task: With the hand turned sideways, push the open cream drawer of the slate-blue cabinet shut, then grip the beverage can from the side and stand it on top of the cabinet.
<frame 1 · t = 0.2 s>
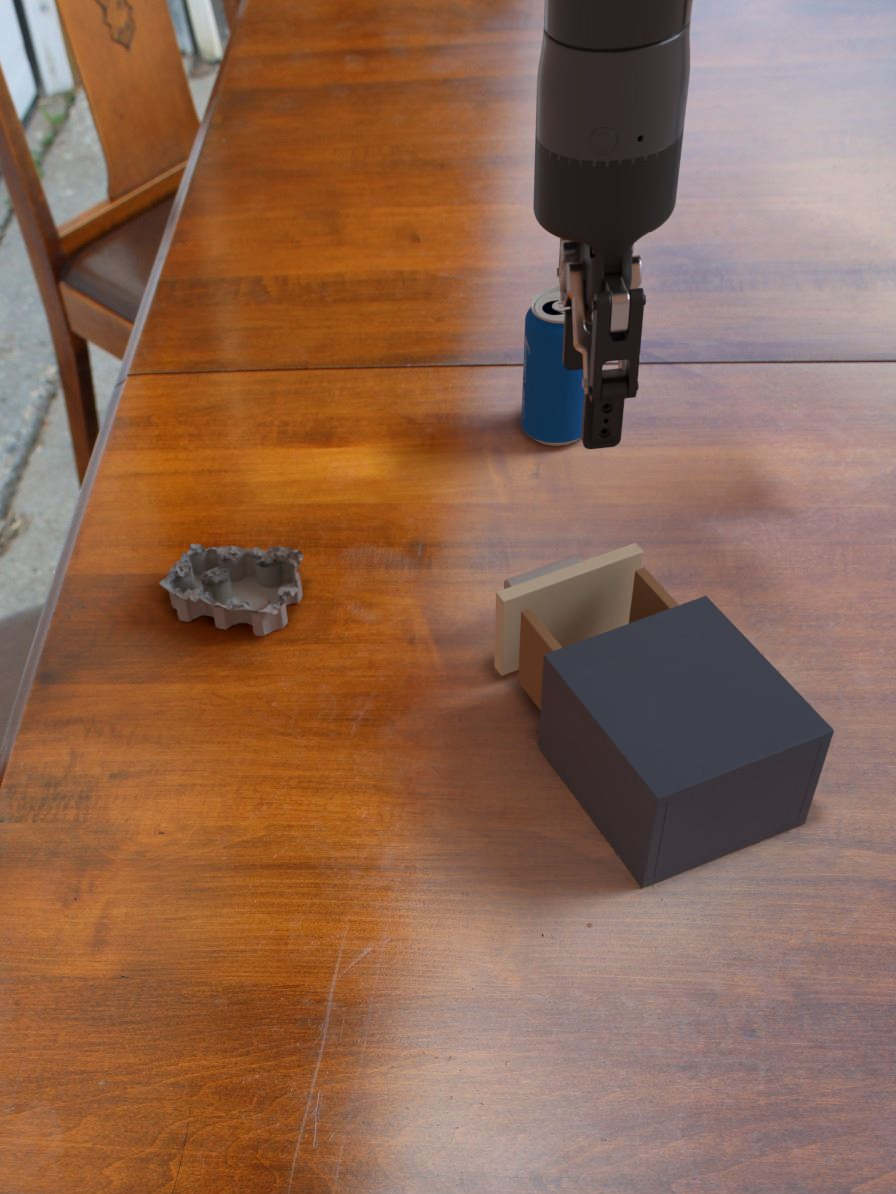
hand: (590, 404, 81), 24 cm above the table, tool pointing down, fingers open, 8 cm apart
drawer: (595, 644, 97), point 5 cm above the table, slide at 7.0 cm
egg carton: (237, 605, 110), on the table
beverage can: (556, 431, 120), on the table
cabinet: (666, 784, 94), on the table
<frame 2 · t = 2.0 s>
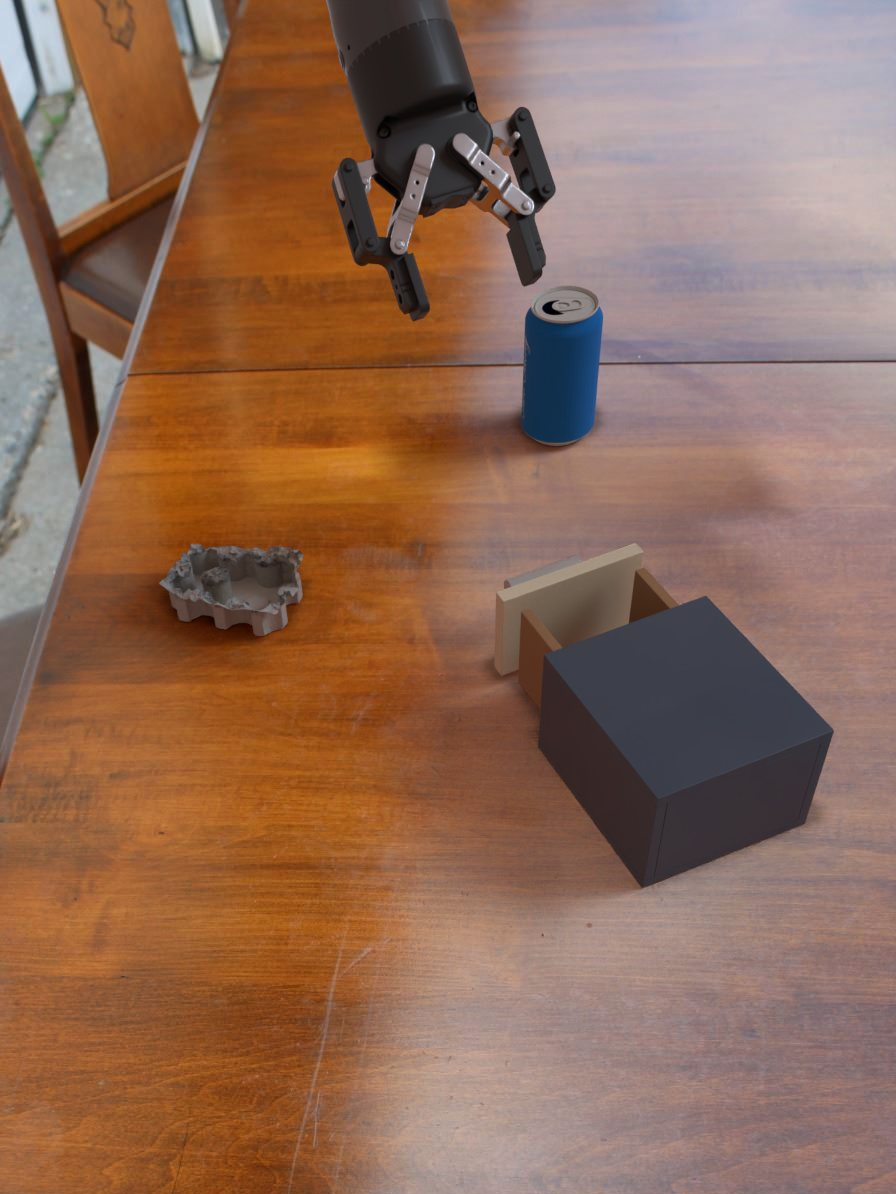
hand: (478, 298, 89), 25 cm above the table, tool tilted 45°, fingers open, 8 cm apart
nothing on the table moved.
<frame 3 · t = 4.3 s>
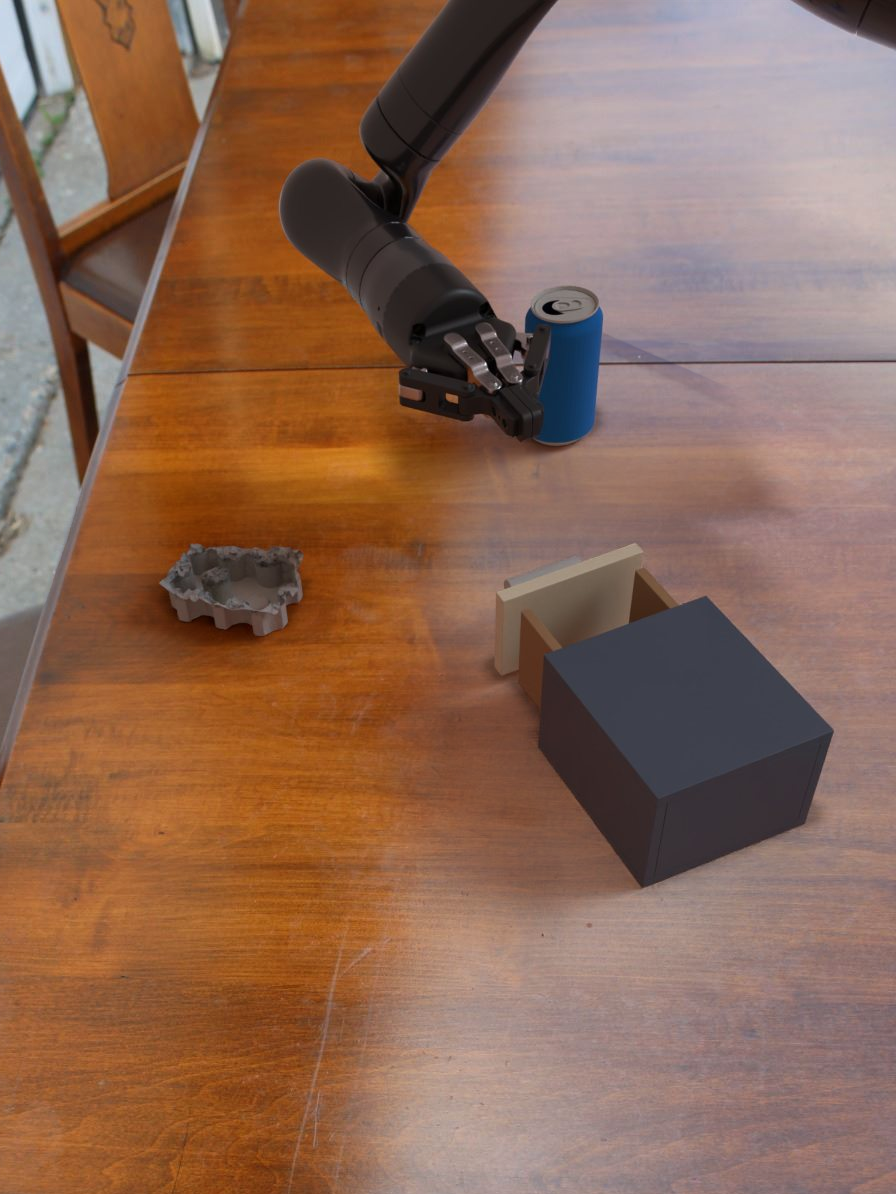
hand: (532, 427, 93), 17 cm above the table, tool horizontal, fingers closed
nothing on the table moved.
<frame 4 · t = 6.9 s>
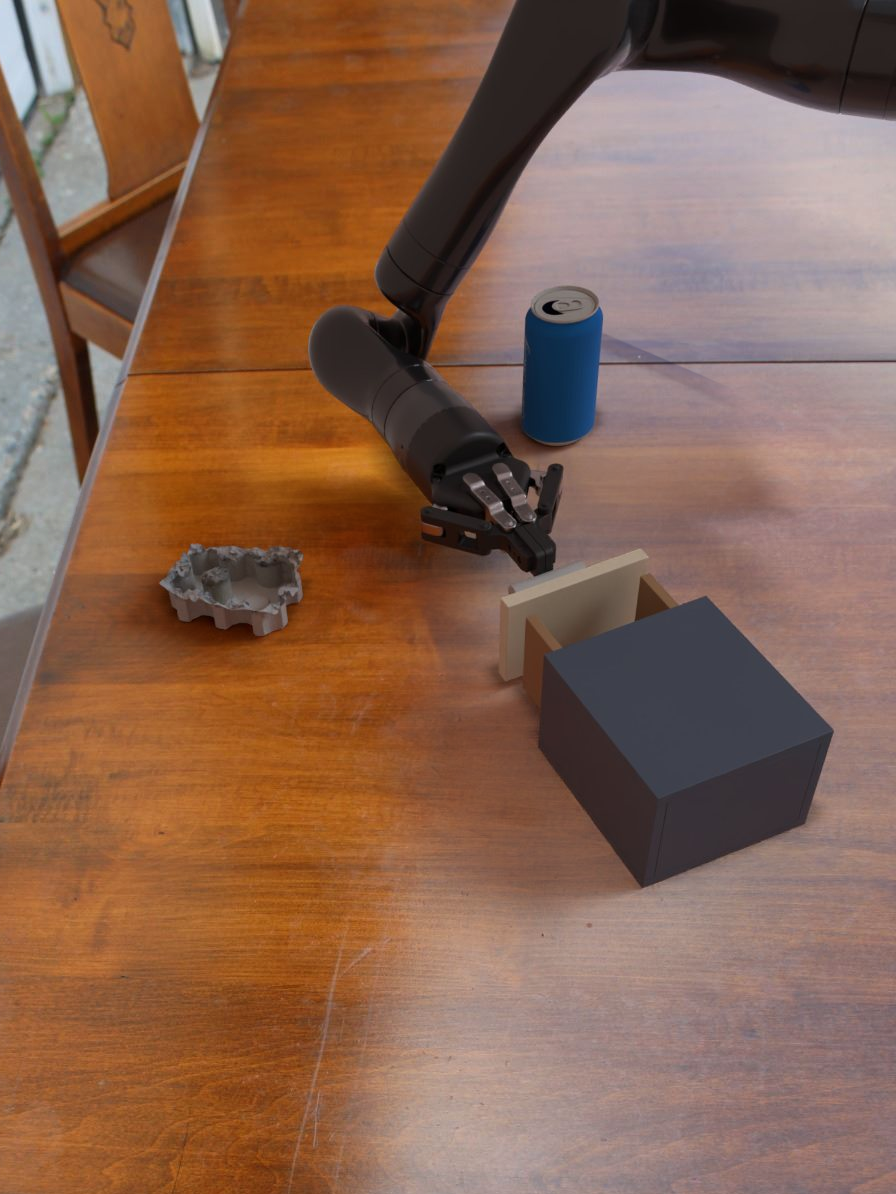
hand: (545, 564, 100), 6 cm above the table, tool horizontal, fingers closed
drawer: (600, 650, 96), point 5 cm above the table, slide at 6.3 cm, touching gripper
everything else where it was.
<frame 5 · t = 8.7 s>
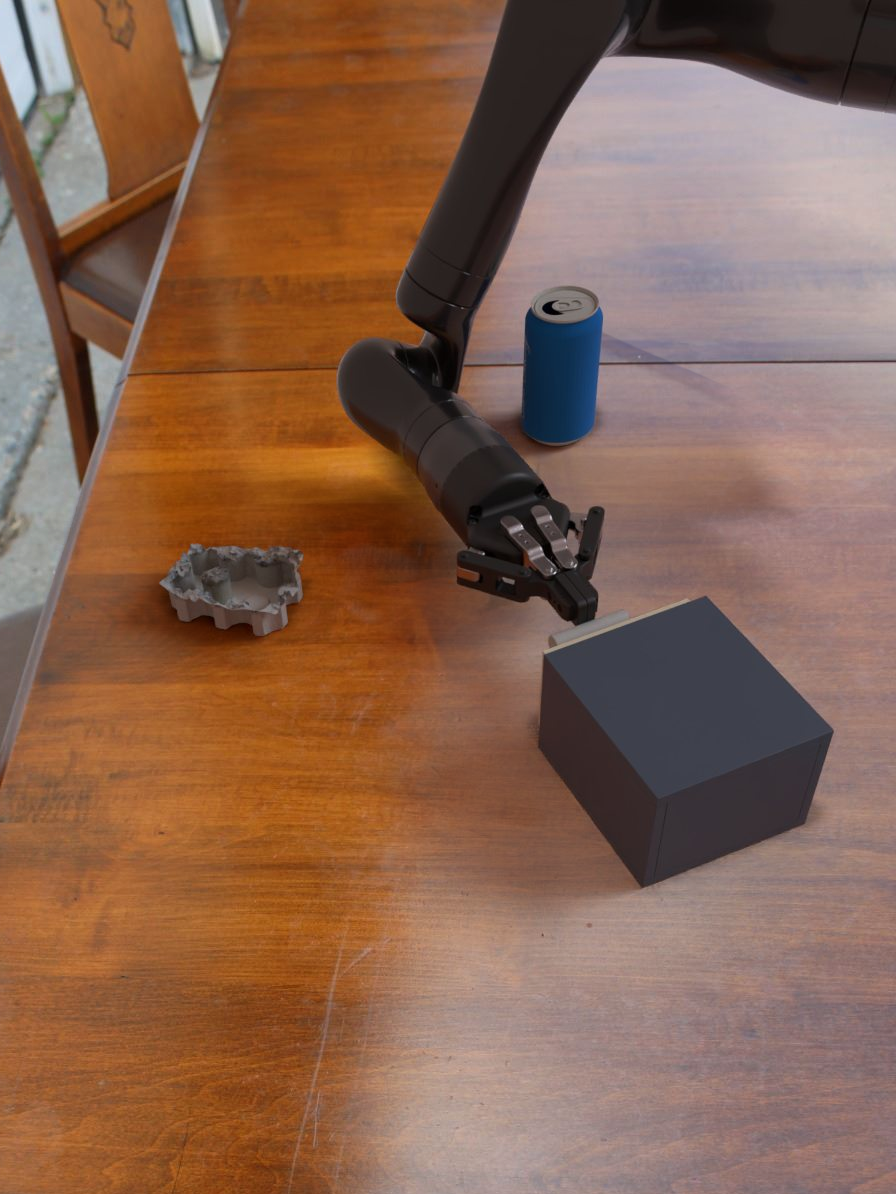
hand: (587, 613, 96), 6 cm above the table, tool horizontal, fingers closed
drawer: (646, 705, 92), point 5 cm above the table, slide at 0.0 cm, touching cabinet, gripper
everything else where it was.
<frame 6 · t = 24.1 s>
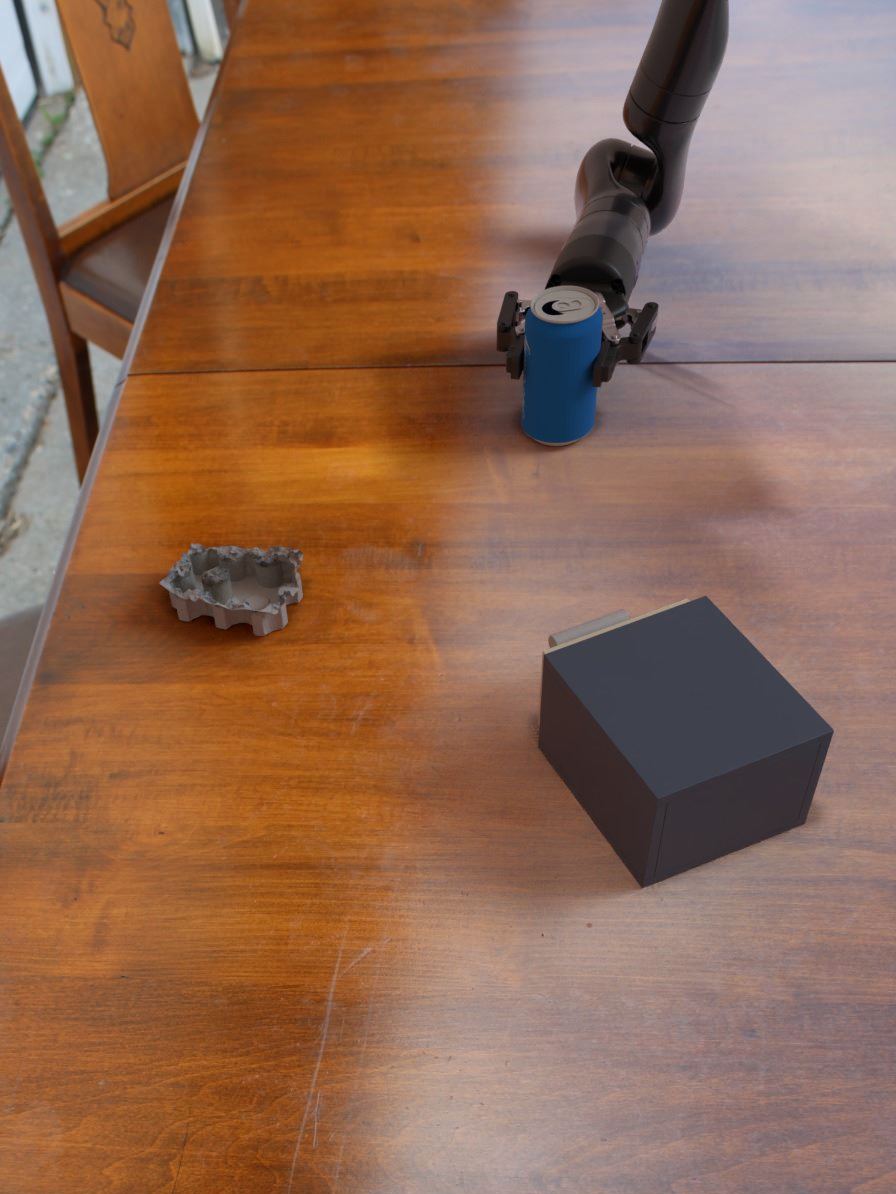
hand: (555, 373, 113), 7 cm above the table, tool horizontal, fingers closed on beverage can, 6 cm apart
drawer: (646, 705, 92), point 5 cm above the table, slide at 0.0 cm, touching cabinet
beverage can: (557, 431, 120), on the table, touching gripper
everything else where it was.
when the fingers open (16 cm above the table, at t = 37.3 s): beverage can stays where it is, resting on cabinet.
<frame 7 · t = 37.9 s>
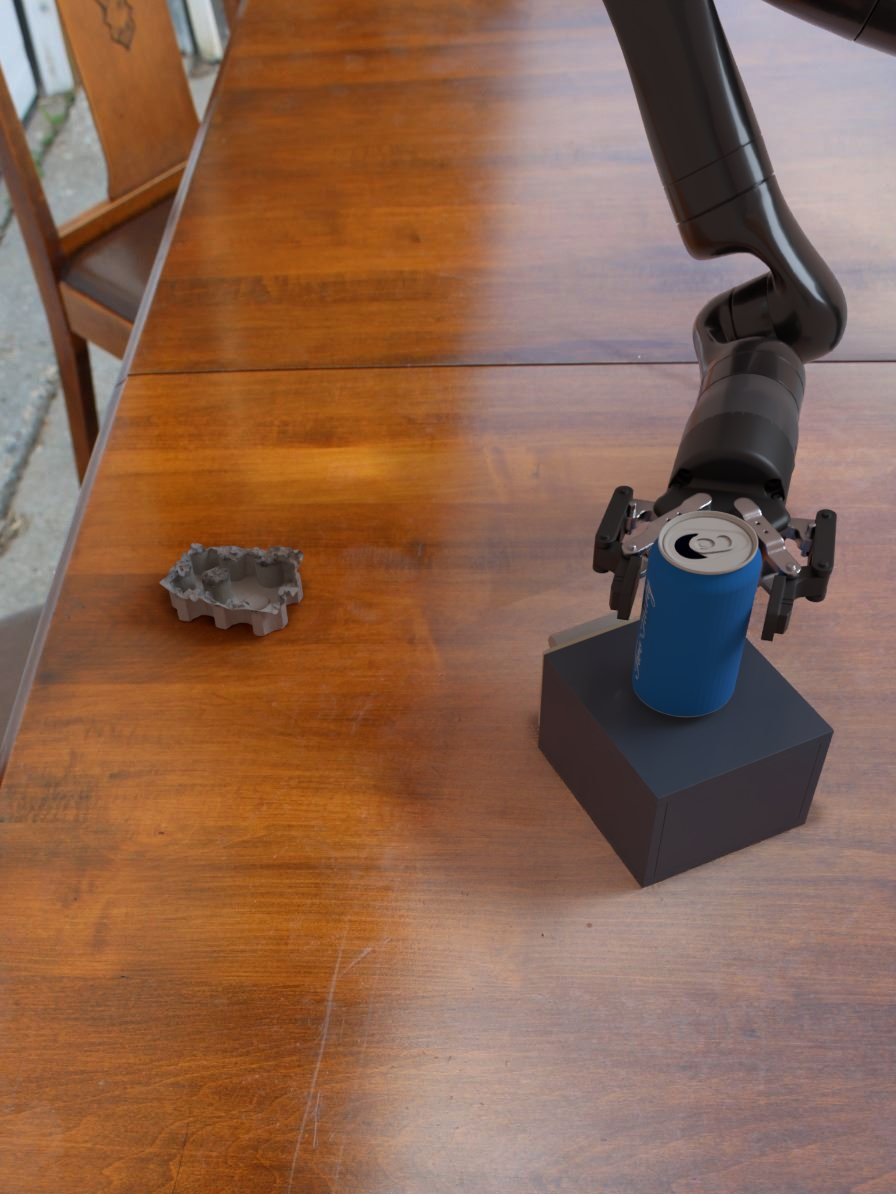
hand: (695, 619, 79), 17 cm above the table, tool horizontal, fingers open, 8 cm apart
beverage can: (681, 692, 87), point 9 cm above the table, touching cabinet
everything else where it was.
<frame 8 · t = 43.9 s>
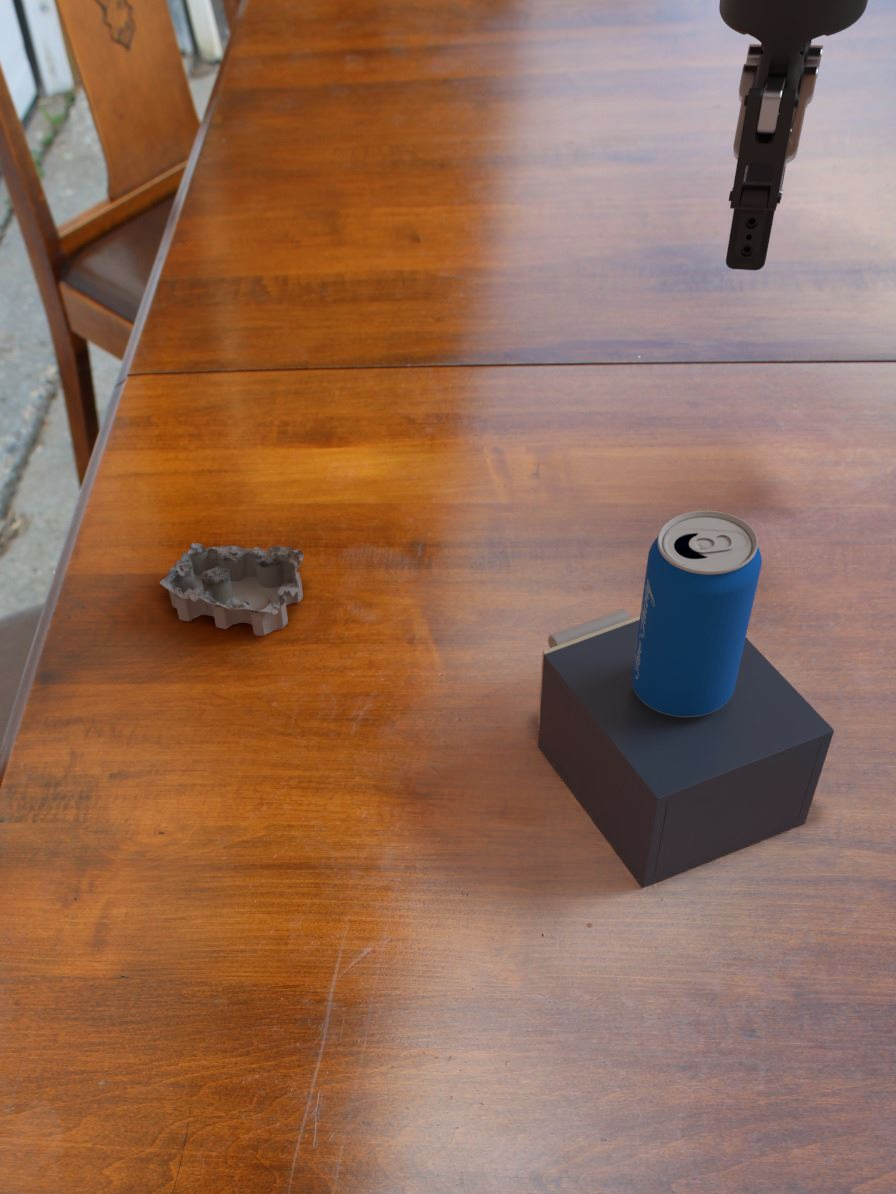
hand: (753, 230, 80), 30 cm above the table, tool pointing down, fingers open, 8 cm apart
nothing on the table moved.
at the end: drawer slide at 0.0 cm; beverage can inside the target area on the cabinet (0.1 cm from its centre), point 8.9 cm above the cabinet's base; beverage can tilted 0° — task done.
